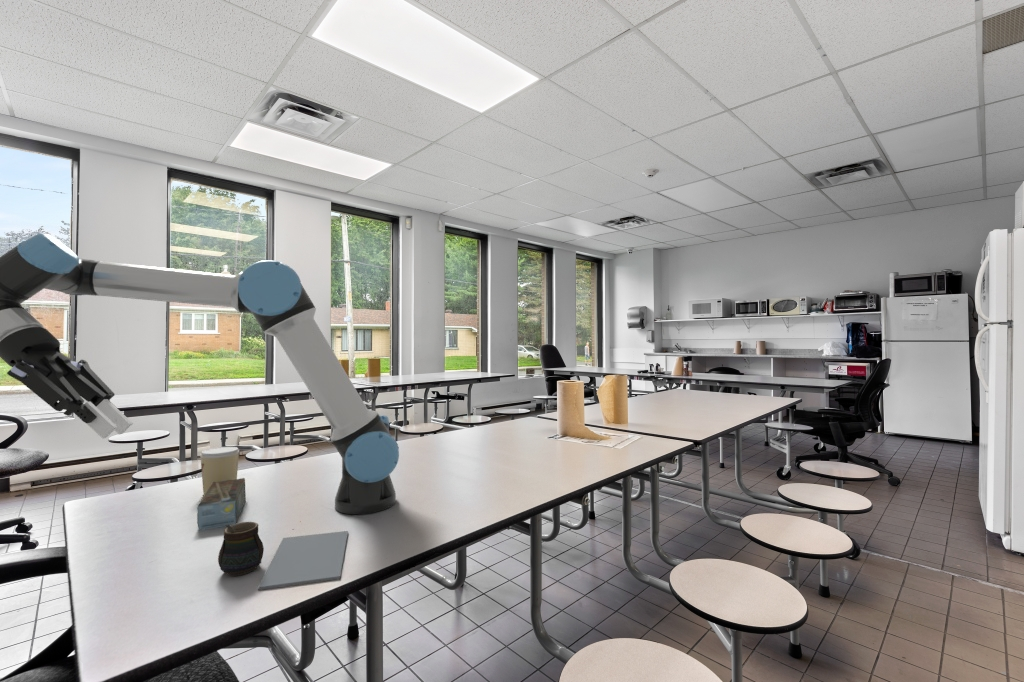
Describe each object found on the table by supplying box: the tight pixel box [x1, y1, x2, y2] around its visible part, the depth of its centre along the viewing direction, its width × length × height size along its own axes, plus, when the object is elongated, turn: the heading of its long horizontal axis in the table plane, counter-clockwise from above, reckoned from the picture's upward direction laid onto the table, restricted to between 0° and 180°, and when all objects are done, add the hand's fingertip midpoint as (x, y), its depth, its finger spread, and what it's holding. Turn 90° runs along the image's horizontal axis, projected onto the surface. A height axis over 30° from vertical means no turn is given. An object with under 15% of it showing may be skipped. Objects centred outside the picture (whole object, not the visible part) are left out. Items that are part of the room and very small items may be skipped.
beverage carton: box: [196, 477, 247, 531], centre depth 112 cm, size 8×19×7 cm, turn 24°
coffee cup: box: [199, 446, 240, 496], centre depth 128 cm, size 9×9×12 cm
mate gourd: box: [217, 521, 265, 577], centre depth 84 cm, size 7×8×10 cm
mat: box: [257, 530, 349, 591], centre depth 88 cm, size 13×20×1 cm, turn 16°
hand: (118, 430), depth 82 cm, fingers open, 3 cm apart
